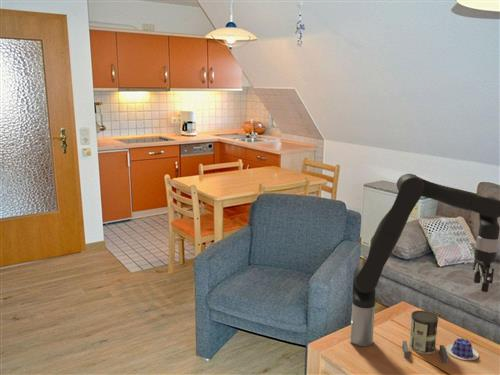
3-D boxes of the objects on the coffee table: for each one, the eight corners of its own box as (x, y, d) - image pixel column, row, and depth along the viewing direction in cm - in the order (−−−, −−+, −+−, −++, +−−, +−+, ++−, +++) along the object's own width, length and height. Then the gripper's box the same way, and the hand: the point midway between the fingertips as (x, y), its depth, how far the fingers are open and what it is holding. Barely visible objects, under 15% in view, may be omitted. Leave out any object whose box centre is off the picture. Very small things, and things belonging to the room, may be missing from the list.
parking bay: (404, 358, 177) (405, 351, 176) (402, 347, 184) (402, 340, 184) (447, 363, 173) (448, 356, 173) (443, 351, 181) (443, 345, 181)
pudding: (475, 348, 185) (477, 336, 184) (480, 364, 173) (482, 352, 172) (444, 343, 188) (445, 331, 187) (447, 358, 177) (448, 346, 176)
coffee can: (432, 342, 188) (435, 311, 186) (437, 355, 179) (440, 323, 176) (407, 339, 190) (409, 309, 188) (410, 352, 181) (413, 321, 178)
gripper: (470, 241, 180) (464, 279, 183) (482, 253, 166) (476, 293, 169) (489, 243, 179) (484, 281, 182) (504, 255, 165) (497, 295, 168)
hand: (480, 287), depth 175 cm, fingers open, 8 cm apart
